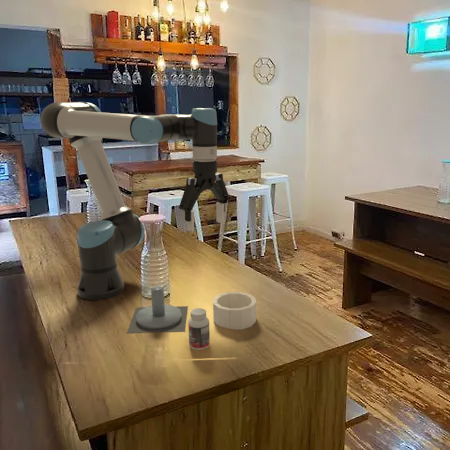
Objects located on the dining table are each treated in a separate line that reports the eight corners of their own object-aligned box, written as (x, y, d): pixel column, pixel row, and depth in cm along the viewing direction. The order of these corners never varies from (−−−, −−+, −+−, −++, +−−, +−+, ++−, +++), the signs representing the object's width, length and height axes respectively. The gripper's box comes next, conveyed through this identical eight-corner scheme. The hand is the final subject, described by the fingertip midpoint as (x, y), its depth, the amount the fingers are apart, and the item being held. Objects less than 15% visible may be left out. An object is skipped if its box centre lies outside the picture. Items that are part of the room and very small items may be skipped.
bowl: (213, 330, 125) (213, 310, 124) (213, 310, 137) (213, 292, 136) (257, 329, 126) (257, 309, 124) (253, 309, 138) (253, 291, 136)
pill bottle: (184, 346, 118) (183, 312, 115) (199, 338, 122) (197, 304, 119) (200, 353, 114) (198, 318, 112) (214, 344, 118) (213, 310, 116)
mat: (126, 334, 124) (126, 333, 124) (136, 308, 140) (136, 307, 139) (184, 332, 124) (184, 331, 124) (188, 307, 140) (187, 306, 140)
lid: (132, 330, 125) (130, 298, 123) (140, 309, 138) (138, 280, 136) (179, 329, 126) (178, 297, 123) (182, 308, 138) (181, 279, 136)
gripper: (183, 165, 127) (185, 237, 133) (240, 157, 145) (239, 220, 151) (165, 162, 132) (168, 232, 138) (223, 155, 150) (223, 217, 156)
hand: (205, 226), depth 144 cm, fingers open, 13 cm apart
